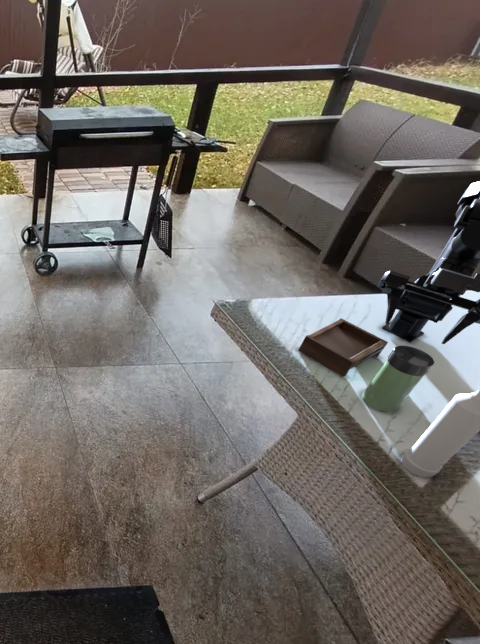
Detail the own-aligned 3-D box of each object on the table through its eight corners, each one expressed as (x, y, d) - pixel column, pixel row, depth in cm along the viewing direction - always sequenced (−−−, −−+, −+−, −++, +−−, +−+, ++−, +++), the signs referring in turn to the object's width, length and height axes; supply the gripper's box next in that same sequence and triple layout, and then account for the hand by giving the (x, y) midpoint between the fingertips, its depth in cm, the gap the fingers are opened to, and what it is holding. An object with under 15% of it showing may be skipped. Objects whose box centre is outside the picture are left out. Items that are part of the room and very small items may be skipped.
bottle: (392, 455, 87) (479, 356, 72) (418, 453, 88) (510, 353, 73) (415, 479, 83) (513, 379, 68) (443, 477, 84) (545, 377, 68)
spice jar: (371, 387, 101) (404, 341, 93) (403, 406, 97) (441, 359, 89) (354, 397, 99) (387, 351, 91) (387, 417, 95) (424, 370, 87)
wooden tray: (332, 332, 116) (341, 318, 114) (378, 356, 109) (388, 342, 106) (297, 350, 111) (305, 336, 108) (343, 377, 104) (352, 362, 101)
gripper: (407, 236, 92) (364, 307, 94) (540, 271, 81) (488, 350, 83) (397, 252, 101) (358, 316, 103) (516, 285, 90) (469, 356, 92)
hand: (414, 333), depth 95 cm, fingers open, 9 cm apart
